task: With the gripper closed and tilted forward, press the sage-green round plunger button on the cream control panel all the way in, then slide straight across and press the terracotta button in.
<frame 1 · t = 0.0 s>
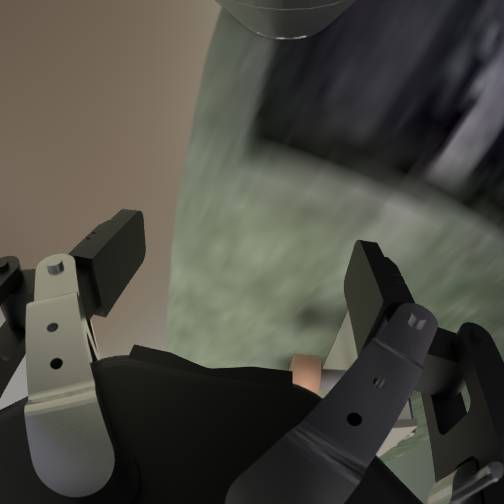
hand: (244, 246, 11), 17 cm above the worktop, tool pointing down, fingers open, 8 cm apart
terracotta button: (331, 380, 29), point 9 cm above the worktop, slide at 0.0 cm
panel: (346, 346, 40), on the worktop
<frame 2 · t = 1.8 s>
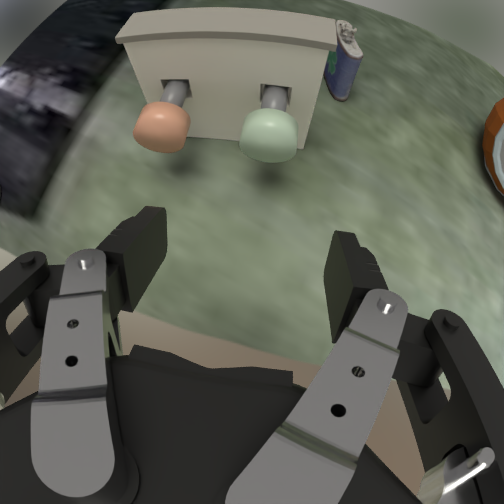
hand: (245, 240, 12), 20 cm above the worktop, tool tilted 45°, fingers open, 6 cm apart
sage button: (272, 111, 27), point 9 cm above the worktop, slide at 0.0 cm
terracotta button: (170, 104, 27), point 9 cm above the worktop, slide at 0.0 cm
panel: (232, 127, 37), on the worktop
flask: (333, 81, 39), on the worktop
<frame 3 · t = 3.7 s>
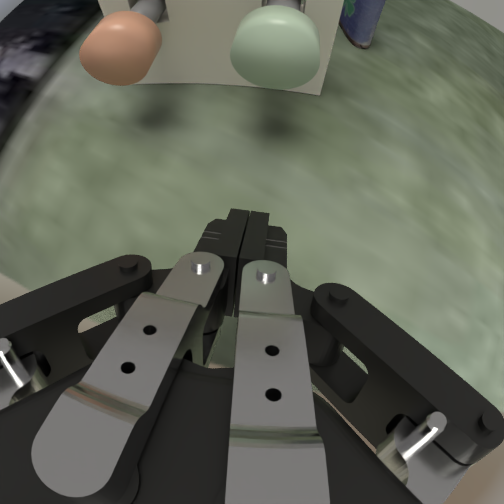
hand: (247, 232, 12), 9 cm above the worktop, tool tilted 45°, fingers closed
sage button: (280, 23, 16), point 9 cm above the worktop, slide at 0.0 cm
terracotta button: (137, 24, 16), point 9 cm above the worktop, slide at 0.0 cm
panel: (225, 70, 26), on the worktop
flask: (351, 29, 28), on the worktop
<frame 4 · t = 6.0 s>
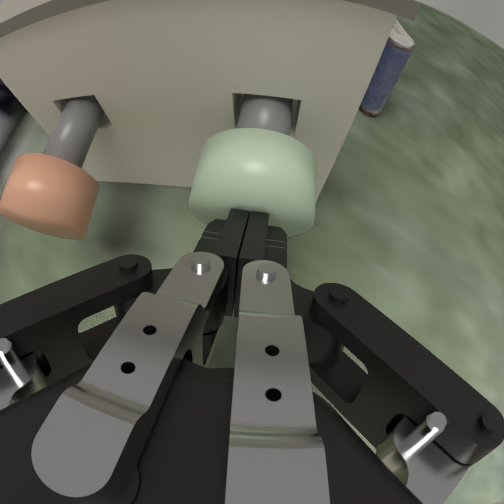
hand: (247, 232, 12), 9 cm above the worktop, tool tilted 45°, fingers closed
sage button: (263, 131, 13), point 9 cm above the worktop, slide at 1.4 cm, touching gripper
terracotta button: (67, 147, 13), point 9 cm above the worktop, slide at 0.0 cm
panel: (199, 164, 23), on the worktop
flask: (358, 83, 26), on the worktop
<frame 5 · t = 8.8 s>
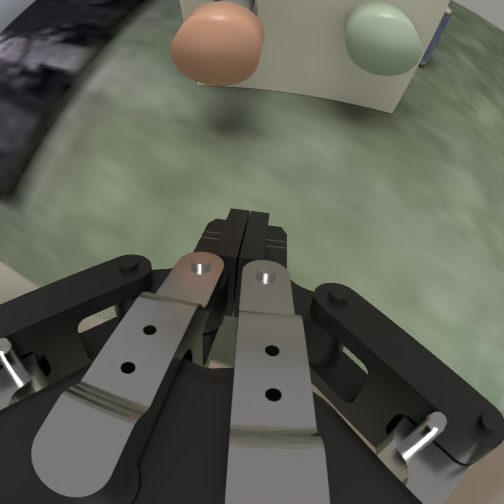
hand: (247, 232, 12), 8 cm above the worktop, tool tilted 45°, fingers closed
sage button: (376, 18, 16), point 9 cm above the worktop, slide at 3.6 cm
terracotta button: (229, 19, 15), point 9 cm above the worktop, slide at 0.0 cm
panel: (297, 79, 25), on the worktop
flask: (405, 45, 28), on the worktop
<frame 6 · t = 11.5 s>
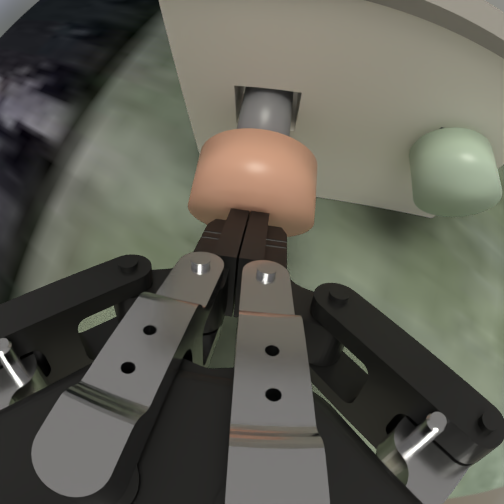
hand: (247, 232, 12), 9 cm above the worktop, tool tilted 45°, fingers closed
sage button: (446, 130, 14), point 9 cm above the worktop, slide at 3.6 cm
terracotta button: (263, 131, 13), point 9 cm above the worktop, slide at 0.9 cm, touching gripper
panel: (329, 175, 23), on the worktop
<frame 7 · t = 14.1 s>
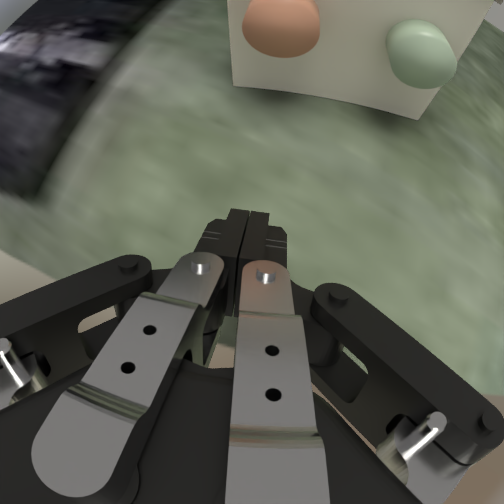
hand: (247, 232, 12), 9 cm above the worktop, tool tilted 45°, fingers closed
sage button: (412, 33, 16), point 9 cm above the worktop, slide at 3.6 cm
terracotta button: (285, 3, 17), point 9 cm above the worktop, slide at 3.6 cm
panel: (330, 84, 26), on the worktop
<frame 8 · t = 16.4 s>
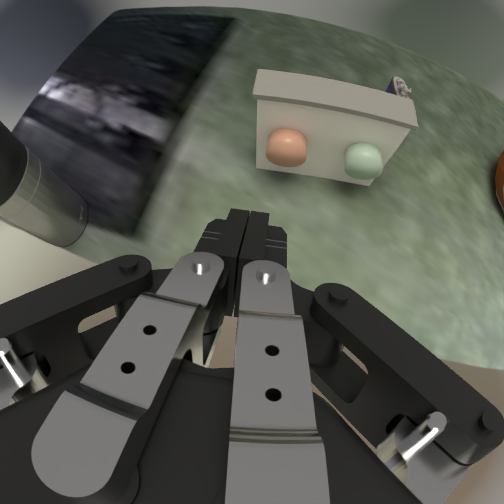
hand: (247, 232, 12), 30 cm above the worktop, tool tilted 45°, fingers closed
sage button: (362, 143, 37), point 9 cm above the worktop, slide at 3.6 cm
terracotta button: (288, 130, 38), point 9 cm above the worktop, slide at 3.6 cm
panel: (314, 165, 46), on the worktop
flask: (385, 125, 49), on the worktop
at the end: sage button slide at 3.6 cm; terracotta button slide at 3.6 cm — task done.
